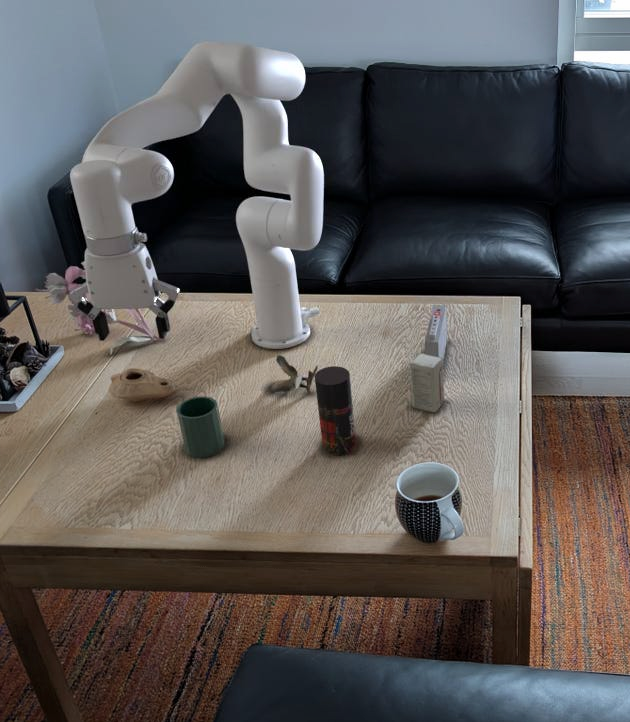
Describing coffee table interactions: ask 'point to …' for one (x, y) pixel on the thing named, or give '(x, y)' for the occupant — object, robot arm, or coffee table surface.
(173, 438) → the coffee table surface
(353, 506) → the coffee table surface
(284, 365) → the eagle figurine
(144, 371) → the pottery oil lamp
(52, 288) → the flower
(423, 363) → the beige box
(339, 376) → the deodorant
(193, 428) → the pot
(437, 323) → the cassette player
